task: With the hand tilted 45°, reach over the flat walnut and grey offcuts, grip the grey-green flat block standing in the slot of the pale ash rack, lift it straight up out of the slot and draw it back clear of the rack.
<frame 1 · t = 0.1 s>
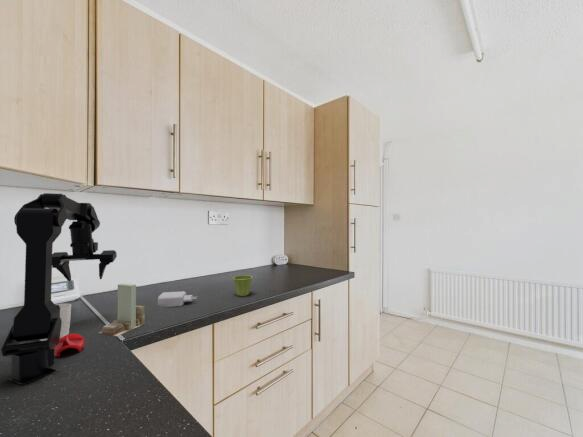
hand: (85, 279, 94), 15 cm above the worktop, tool pointing down, fingers open, 9 cm apart
plant pot: (242, 295, 130), on the worktop
offcut rack: (122, 331, 87), on the worktop
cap: (69, 356, 71), on the worktop
grey-green flat block: (126, 326, 88), point 1 cm above the worktop, touching offcut rack
offcut bottom: (113, 331, 84), point 1 cm above the worktop, touching offcut rack, offcut top
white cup: (54, 340, 81), on the worktop
offcut top: (113, 328, 84), point 2 cm above the worktop, touching offcut bottom
white dispenser bottle: (179, 304, 116), on the worktop
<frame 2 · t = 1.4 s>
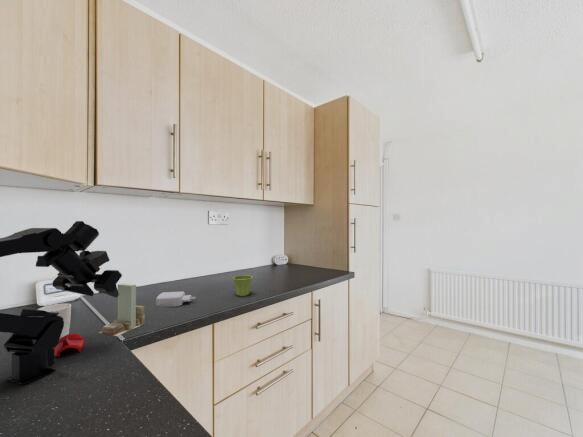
hand: (105, 295, 81), 14 cm above the worktop, tool tilted 45°, fingers open, 9 cm apart
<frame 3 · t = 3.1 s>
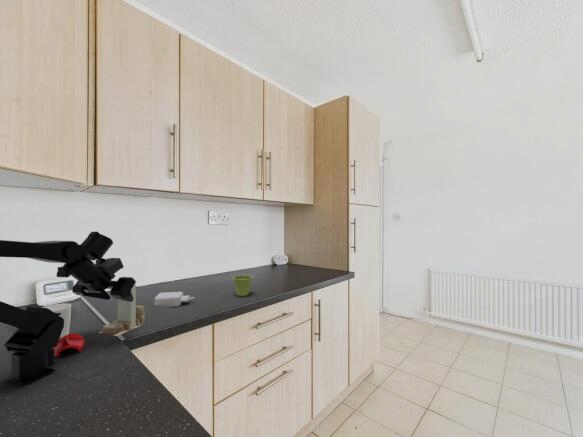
hand: (120, 299, 86), 11 cm above the worktop, tool tilted 45°, fingers open, 9 cm apart
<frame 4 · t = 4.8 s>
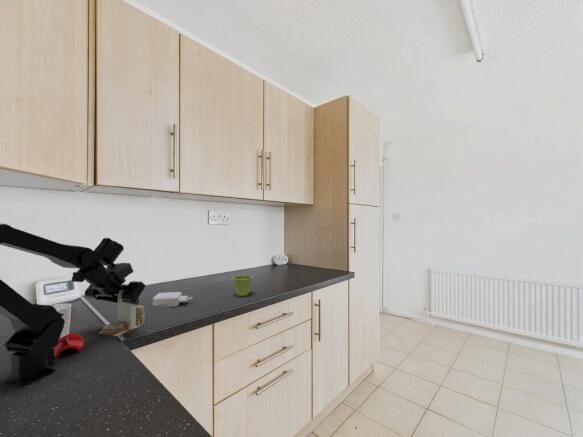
hand: (130, 302, 90), 9 cm above the worktop, tool tilted 45°, fingers closed on grey-green flat block, 6 cm apart
grey-green flat block: (126, 326, 88), point 1 cm above the worktop, touching gripper, offcut rack
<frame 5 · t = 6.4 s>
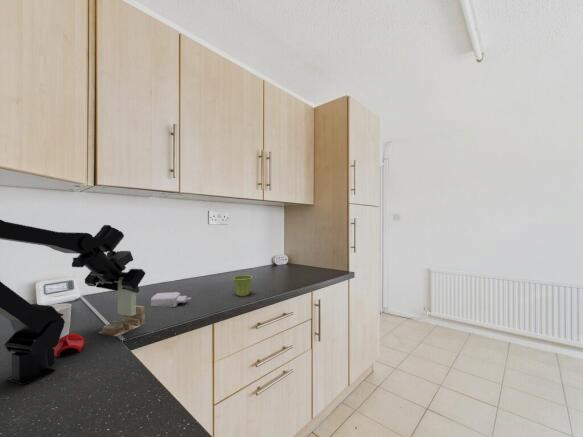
hand: (130, 291, 90), 13 cm above the worktop, tool tilted 45°, fingers closed on grey-green flat block, 6 cm apart
grey-green flat block: (126, 314, 88), point 5 cm above the worktop, touching gripper
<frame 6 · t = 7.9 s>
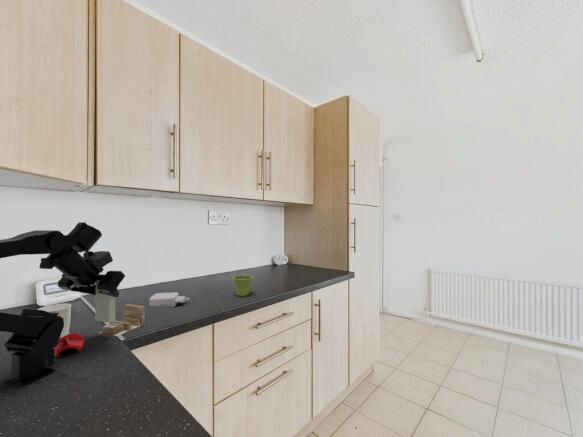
hand: (109, 295, 82), 13 cm above the worktop, tool tilted 45°, fingers closed on grey-green flat block, 6 cm apart
grey-green flat block: (105, 320, 80), point 6 cm above the worktop, touching gripper
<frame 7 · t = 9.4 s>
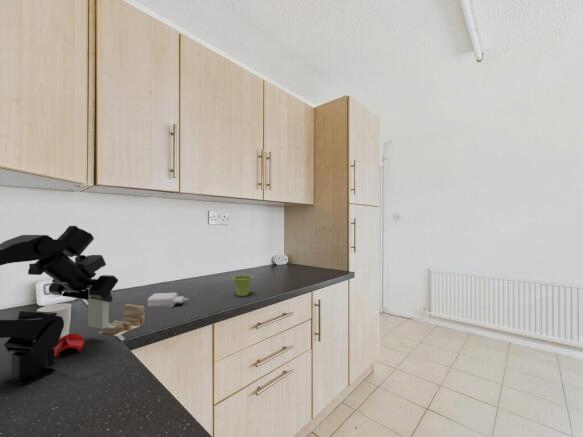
hand: (102, 299, 80), 13 cm above the worktop, tool tilted 45°, fingers closed on grey-green flat block, 6 cm apart
grey-green flat block: (98, 326, 78), point 5 cm above the worktop, touching gripper
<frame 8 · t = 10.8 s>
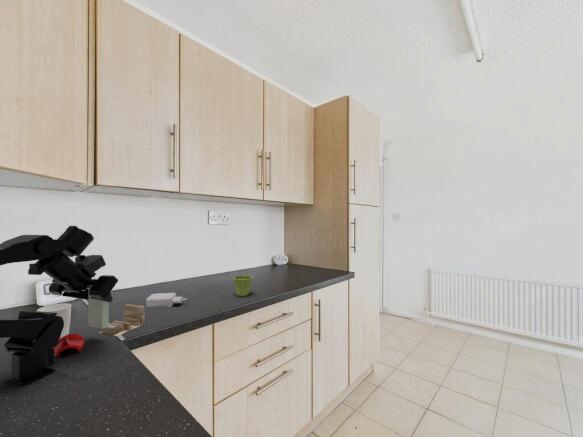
hand: (102, 299, 80), 13 cm above the worktop, tool tilted 45°, fingers closed on grey-green flat block, 6 cm apart
grey-green flat block: (98, 326, 78), point 5 cm above the worktop, touching gripper
at the end: the gripper is holding grey-green flat block; grey-green flat block point 5.2 cm above the worktop; offcut bottom moved 0.0 cm from its start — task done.
